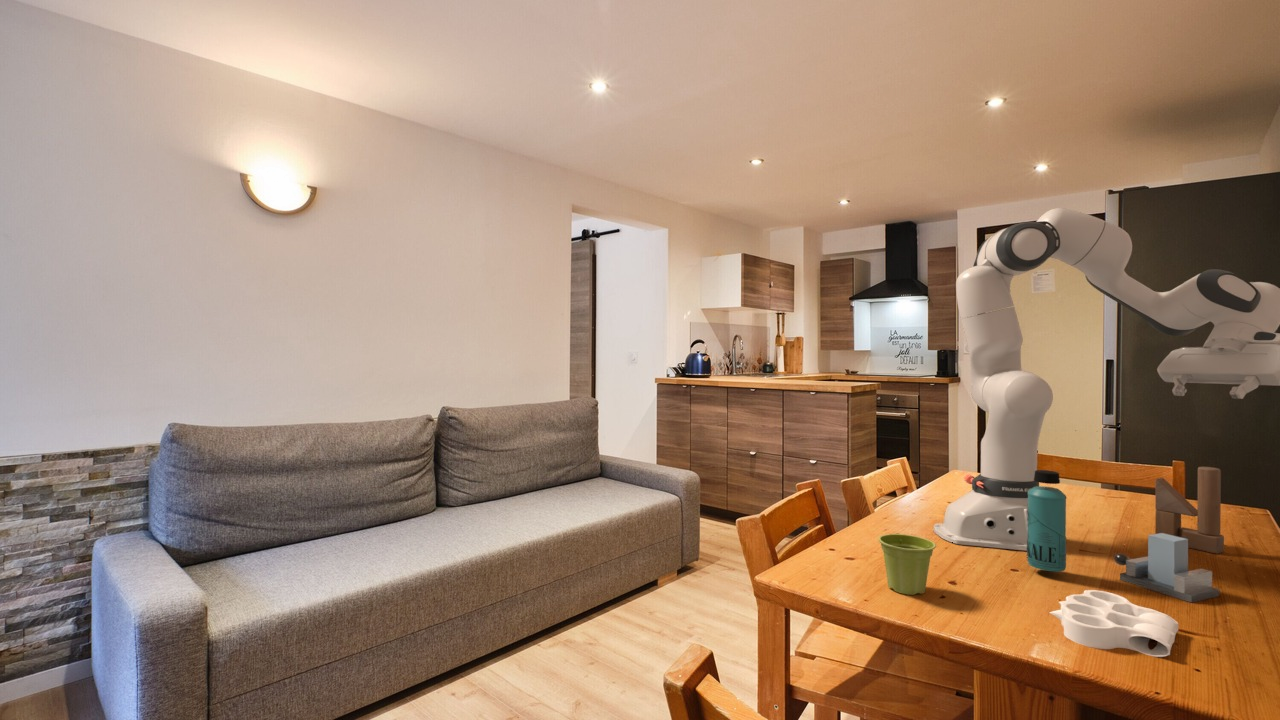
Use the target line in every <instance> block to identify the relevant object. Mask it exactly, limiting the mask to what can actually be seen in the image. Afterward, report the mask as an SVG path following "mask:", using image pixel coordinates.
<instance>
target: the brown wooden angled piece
mask: <svg viewBox="0 0 1280 720" xmlns="http://www.w3.org/2000/svg"><path fill="white" fill-rule="evenodd" d="M1221 473H1222V471H1221V469H1220V468H1217V467H1211V466H1198V468H1197V508H1196V507H1194V505H1193V504H1192V503H1190V502H1189V501H1188V500H1187V498H1185V497H1184V496H1183V494H1181V493H1180V492H1179V491H1178V490H1177V489H1176V488H1175V487H1173V486H1172V484H1170V483H1169V482H1168V481H1167V480H1166V479H1165V478H1164V477H1160V478H1155V497H1154V498H1155V502H1154V504H1155V517H1154V518H1155V530H1154V531H1155V534H1159V533H1164V534H1168V535H1173V536H1177V537H1181V538H1185V539H1188V549H1191V550H1192V549H1193V550H1197V551H1202V552H1207V553H1210V554H1215V555H1219V554H1220V553H1223V552H1224V551H1225V537H1224V535H1223V534H1221V503H1222V502H1221V499H1222V498H1221V496H1222V493H1221V492H1222V491H1221V490H1222V489H1221V488H1222V487H1221V486H1222V484H1221V483H1222V482H1221V481H1222V479H1221V476H1222V474H1221ZM1182 515H1183V516H1189V517H1194V518H1195V517H1197V523H1196V524H1197V525H1196V526H1197V528H1196V529H1194V528H1188V527H1184V526H1183V527H1182Z"/></svg>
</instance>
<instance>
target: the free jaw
mask: <svg viewBox="0 0 1280 720" xmlns="http://www.w3.org/2000/svg"><path fill="white" fill-rule="evenodd" d="M1113 560H1114V562H1115V563H1116V564H1117V565H1119V566H1125V572H1126V574H1127V575H1130V576H1133V577H1138V576H1143V575H1148V555H1147V556H1142V557H1136V558H1129V557H1128V556H1127V555H1126V554H1124V553H1117V554H1115V555H1114V557H1113Z"/></svg>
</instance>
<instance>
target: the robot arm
mask: <svg viewBox="0 0 1280 720" xmlns="http://www.w3.org/2000/svg"><path fill="white" fill-rule="evenodd" d="M1132 253H1133V243H1132V238H1131V236H1130V235H1129V233H1128V232H1126V230H1124V229H1123V228H1121V227H1120V226H1118V225H1116V224H1113V223H1112V222H1109V221H1106V220H1103V219H1101V218H1099V217H1097V216H1094V215H1092V214H1091V215H1090V214H1087V213H1084V212H1081V211H1076V210H1073V209H1068V208H1063V207H1056V208H1052V209H1050V210H1047V211H1046V212H1044V213H1043V214H1042V215H1041V216H1040V217H1038V219H1036V221H1031V222H1030V221H1029V222H1028V221H1027V222H1025V221H1024V222H1020V223H1015V224H1013V225H1011V226H1008V227H1006V228H1002V229H999V230H998V231H996V232H995V233H993V234H992V235H990V236H989V237H988V238H986V239H985V240H984V241H983V242H982V243H981V245H980V246H979V248H978V250H977V252H976V256H975V260H974V263H973V266H971V267H970V268H967V269H965V270H964V271H962V272H961V273H960V274H959V275H958V277H957V279H956V281H955V291H956V293H955V294H956V302H957V307H958V312H959V313H958V314H959V318H960V322H961V326H962V328H963V329H962V330H963V334H964V336H965V339H966V345H967V348H968V349H967V350H968V356H969V367H970V370H969V371H970V379H971V386H970V396H971V398H972V400H973V401H974V403H975V404H976V405H977V407H979V408H980V409H981V410H983V411H984V412H986V413H988V419H987V424H986V429H985V432H984V434H983V437H982V438H981V441H980V474H979V475H977V476H973V475H971V474H966V475H965V476H964V477H963V479H964V482H966V483H967V484H969V485H971V488H972V489H971V490H970V491H968V492H966V493H965V494H964V495H962V496H961V497H959V498H957V499H956V500H954V501H952V502H950V503H949V504H948V505H947V507H946V509H945V513H944V516H943V517H944V518H943V523H942V522H938V523H935V524H934V525H933V532H934V533H935V534H936V535H937V536H938V537H940V538H942V539H943V540H944V541H947V542H950V543H952V542H953V544H956V545H963V546H973V547H985V548H996V549H1007V550H1017V551H1024V552H1027V541H1028V540H1027V539H1028V537H1027V536H1028V533H1027V532H1028V526H1027V525H1028V520H1027V519H1028V517H1027V511H1028V508H1027V507H1028V491H1029V490H1030V489H1032V488H1033V487H1037V486H1040V482H1036V481H1034V476H1035V471H1036V470H1038V445H1039V438H1040V435H1041V430H1042V426H1043V423H1044V418H1045V415H1046V413H1047V412H1048V410H1049V409H1050V408H1051V406H1052V404H1053V401H1054V395H1053V394H1054V393H1053V391H1052V387H1051V386H1050V385H1049V383H1048V382H1047V381H1046V380H1044V379H1043V378H1042V377H1040V376H1038V375H1037V374H1035V373H1033V372H1030V371H1027V370H1023V369H1022V357H1021V356H1022V355H1021V354H1022V353H1021V352H1022V351H1021V349H1022V345H1023V337H1024V336H1023V333H1022V330H1021V326H1020V323H1019V320H1018V317H1017V311H1016V307H1015V304H1014V301H1013V297H1012V294H1011V282H1012V280H1013V278H1014V276H1015V277H1016V276H1020V275H1022V274H1025V273H1027V272H1030V271H1032V270H1035V269H1037V268H1038V267H1040V266H1041V265H1043V264H1044V263H1045V262H1046V261H1047V260H1049V258H1051V259H1055V260H1059V261H1061V262H1062V263H1065V264H1067V265H1068V266H1072V267H1073V268H1075V269H1077V270H1078V271H1080V272H1081V273H1083V274H1084V276H1085V277H1084V278H1085V279H1086V281H1087V283H1089V284H1090V285H1091V286H1092V287H1093V288H1094V289H1096V291H1099V292H1100V293H1102V294H1103V295H1104V296H1107V297H1108V298H1109V299H1111V300H1113V301H1115V302H1117V303H1118V304H1120V305H1121V306H1122V307H1124V308H1127V309H1128V310H1130V311H1132V312H1133V313H1135V314H1136V315H1138V316H1139V317H1141V318H1142V319H1143V320H1144V321H1145V322H1147V324H1149V325H1150V326H1152V328H1153V329H1155V330H1157V331H1159V332H1160V333H1162V334H1165V335H1169V336H1172V337H1181V336H1187V335H1190V333H1192V332H1195V330H1197V329H1199V328H1200V327H1202V326H1203V325H1206V324H1207V323H1209V322H1210V323H1212V324H1213V328H1212V330H1211V332H1210V334H1209V335H1208V337H1207V339H1206V340H1205V342H1204V344H1203V346H1193V347H1192V346H1191V347H1190V346H1182V347H1180V348H1176V349H1174V350H1172V351H1170V352H1169V354H1168V355H1167V356H1166V357H1165V358H1164V359H1163V360H1162V361H1161V362H1160V364H1159V365H1158V367H1157V369H1156V370H1157V373H1158V375H1159V377H1160V378H1161V380H1163V381H1164V383H1165V382H1166V383H1174V386H1173V388H1172V390H1171V392H1172V394H1173V396H1178V397H1184V396H1185V394H1186V393H1187V391H1188V389H1187V388H1186V386H1185V384H1186V383H1187V384H1188V383H1189V384H1192V383H1193V384H1216V385H1217V384H1221V385H1223V384H1224V385H1238V386H1232V387H1231V390H1230V391H1229V395H1230V396H1231V399H1237V400H1239V399H1241V400H1242V399H1244V398H1245V396H1246V395H1247V394H1248V393H1250V392H1252V391H1254V390H1255V389H1257V388H1258V387H1259V386H1274V387H1275V386H1280V333H1278V332H1277V331H1278V328H1279V327H1280V288H1279V287H1278V286H1276V285H1275V284H1273V283H1272V284H1271V283H1269V282H1264V281H1263V282H1262V281H1255V282H1254V281H1248V280H1247V279H1245V278H1243V277H1242V276H1240V275H1238V274H1235V273H1234V272H1231V271H1228V270H1224V269H1218V268H1217V269H1215V268H1213V269H1212V268H1210V269H1206V270H1205V271H1202V272H1201V273H1198V274H1196V275H1195V276H1193V277H1191V278H1190V279H1188V280H1186V281H1184V282H1183V283H1181V284H1180V285H1178V286H1176V287H1174V288H1173V289H1171V290H1168V291H1163V292H1161V291H1154V290H1152V289H1151V288H1150V287H1148V286H1146V285H1145V284H1143V283H1141V282H1140V281H1138V280H1136V279H1135V278H1133V277H1131V276H1129V274H1128V273H1126V271H1125V268H1126V267H1127V265H1128V263H1129V260H1130V258H1131V257H1132Z"/></svg>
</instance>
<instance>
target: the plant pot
mask: <svg viewBox="0 0 1280 720" xmlns="http://www.w3.org/2000/svg"><path fill="white" fill-rule="evenodd" d="M878 542H879V543H880V545H881V549H882V551H883V556H884V557H883V559H884V565H885V571H886V572H885V573H886V581H887V586H888V588H889V589H893V590H894V591H895V592H896V593H899V594H903V595H904V594H905V595H907V596H908V595H909V596H914V595H917V594H920V595H923V594H924V593H925V592H926V588H927V581H928V576H929V574H928V573H929V568H930V562H931V557H932V556H933V551H934V550H935V549H936V545H937V544H936V543H935V542H934V541H932V540H930V539H927V538H924V537H921V536H916V535H912V534H902V533H888V534H882V535H880V536H879V537H878Z"/></svg>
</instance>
